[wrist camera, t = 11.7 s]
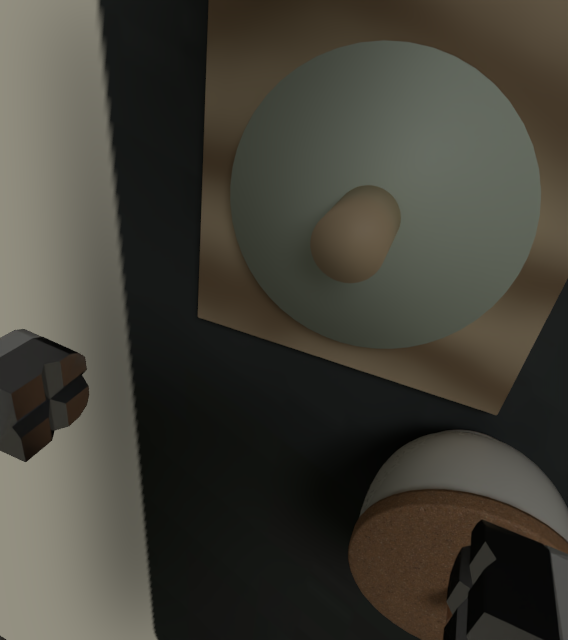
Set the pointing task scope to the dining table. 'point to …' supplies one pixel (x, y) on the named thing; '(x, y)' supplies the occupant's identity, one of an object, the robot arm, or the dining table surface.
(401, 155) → the lid
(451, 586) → the robot arm
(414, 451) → the lidded jar
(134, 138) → the dining table surface
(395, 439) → the dining table surface
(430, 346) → the plate
